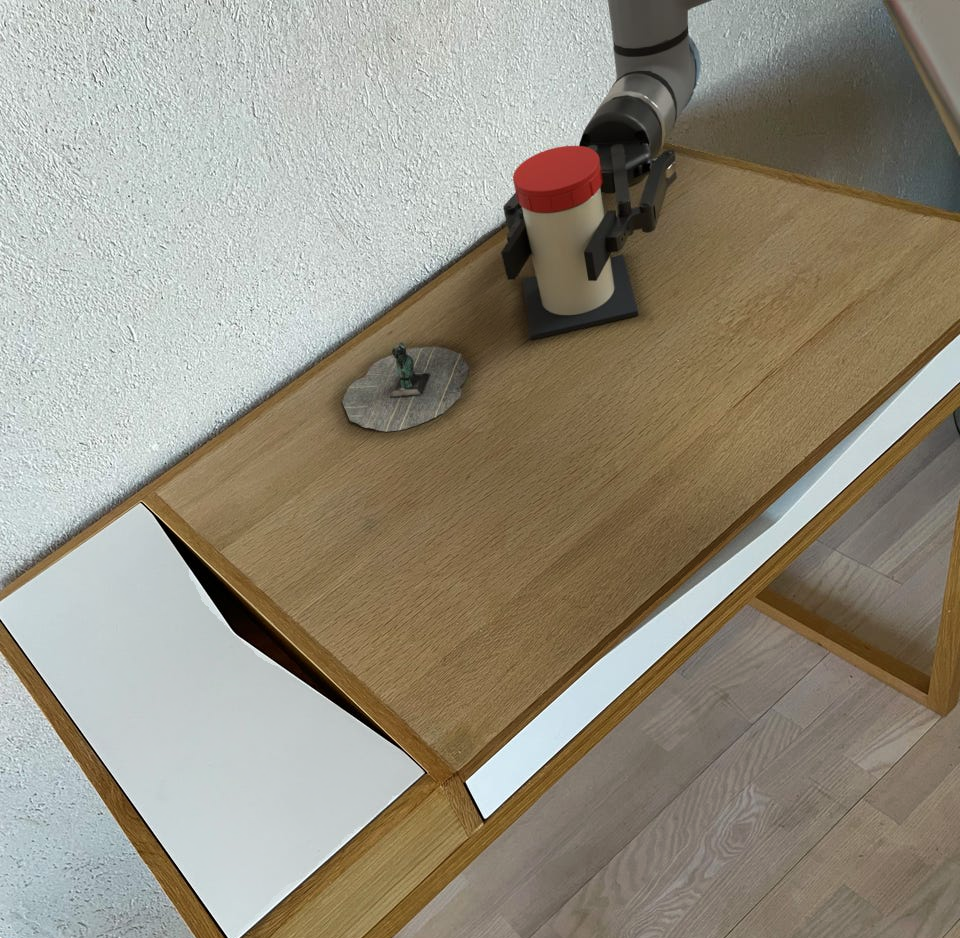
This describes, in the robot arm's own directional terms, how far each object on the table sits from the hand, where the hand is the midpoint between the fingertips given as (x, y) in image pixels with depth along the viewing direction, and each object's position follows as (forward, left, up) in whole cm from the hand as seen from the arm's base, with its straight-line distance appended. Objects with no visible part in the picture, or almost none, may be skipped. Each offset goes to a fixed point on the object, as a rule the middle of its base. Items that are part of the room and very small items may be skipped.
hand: (548, 266), depth 83 cm
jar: (-2, -4, -6) cm, 8 cm away
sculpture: (+15, +4, -7) cm, 17 cm away
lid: (-2, -4, +6) cm, 7 cm away
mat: (-2, -4, -6) cm, 8 cm away
